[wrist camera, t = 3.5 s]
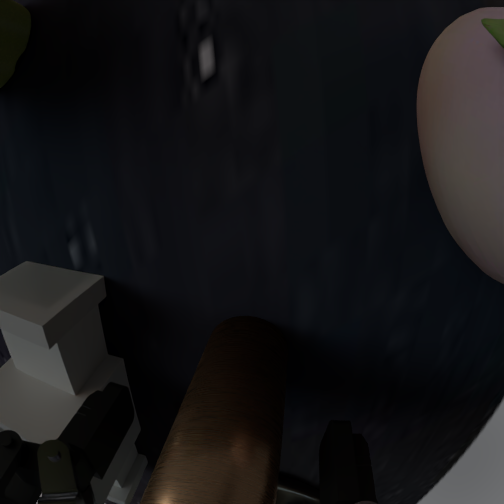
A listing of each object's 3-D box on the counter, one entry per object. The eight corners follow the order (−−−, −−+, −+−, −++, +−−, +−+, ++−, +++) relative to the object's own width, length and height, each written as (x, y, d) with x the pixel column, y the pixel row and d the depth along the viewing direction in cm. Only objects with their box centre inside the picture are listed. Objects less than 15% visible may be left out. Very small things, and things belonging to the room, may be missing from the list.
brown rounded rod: (293, 321, 14) (271, 597, 3) (282, 382, 16) (255, 602, 4) (209, 310, 15) (93, 553, 3) (209, 372, 16) (133, 576, 5)
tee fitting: (109, 277, 15) (6, 367, 7) (152, 463, 21) (121, 534, 13) (22, 260, 15) (-69, 317, 8) (83, 438, 22) (46, 498, 14)
